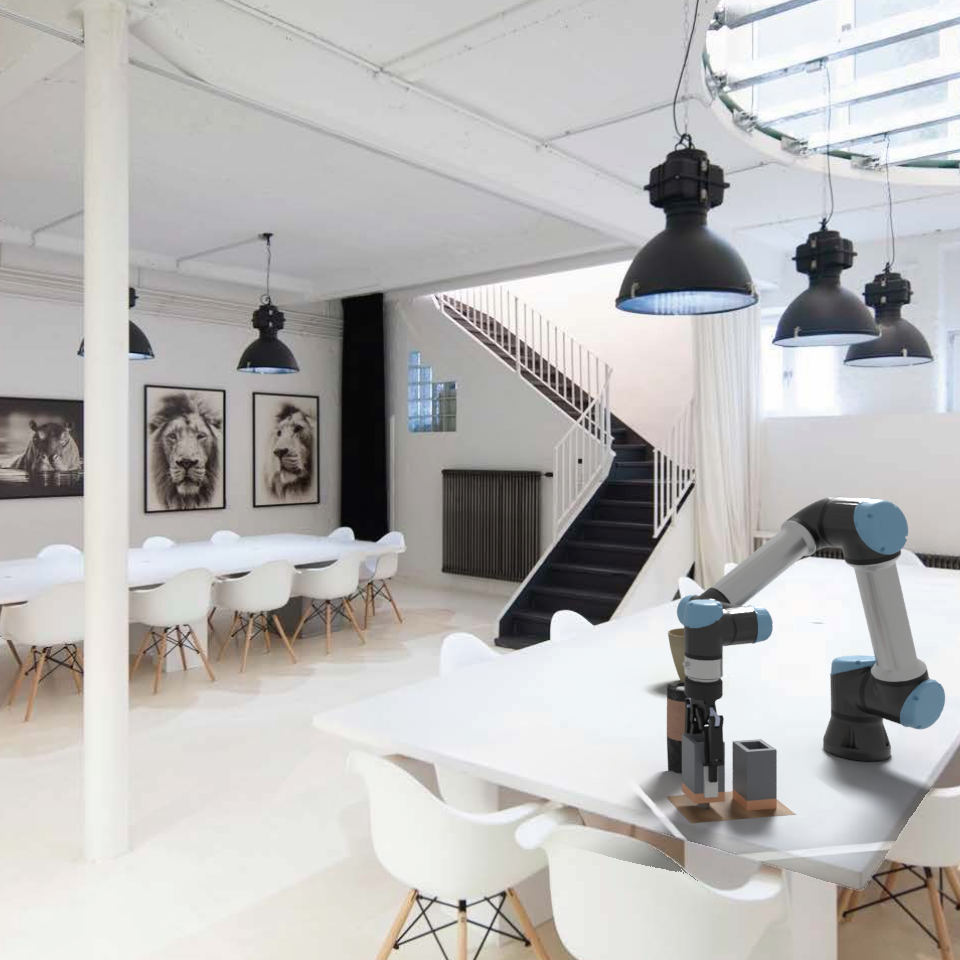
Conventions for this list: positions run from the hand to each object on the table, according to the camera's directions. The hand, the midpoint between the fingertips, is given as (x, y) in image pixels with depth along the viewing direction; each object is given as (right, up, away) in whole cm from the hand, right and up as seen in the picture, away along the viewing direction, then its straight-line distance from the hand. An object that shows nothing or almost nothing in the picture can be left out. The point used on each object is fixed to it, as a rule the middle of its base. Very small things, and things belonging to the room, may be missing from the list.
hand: (703, 789), depth 172 cm
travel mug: (+1, -4, +22) cm, 22 cm away
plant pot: (+22, -2, +99) cm, 101 cm away
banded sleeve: (0, -1, 0) cm, 1 cm away
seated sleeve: (+11, -3, +2) cm, 12 cm away
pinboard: (+6, -5, +1) cm, 7 cm away
